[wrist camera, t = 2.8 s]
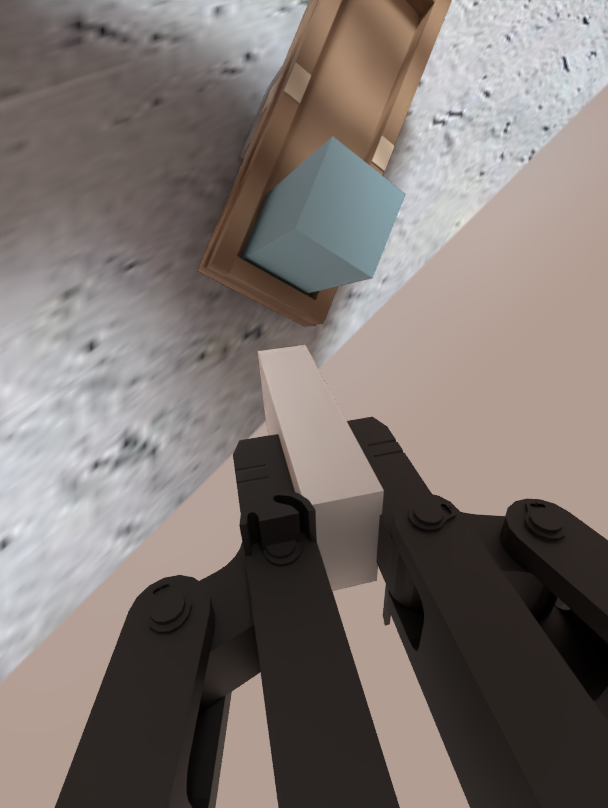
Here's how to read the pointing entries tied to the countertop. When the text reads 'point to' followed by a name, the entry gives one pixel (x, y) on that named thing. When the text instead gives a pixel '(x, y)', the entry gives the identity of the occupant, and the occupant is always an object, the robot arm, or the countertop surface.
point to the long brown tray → (323, 123)
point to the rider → (325, 222)
